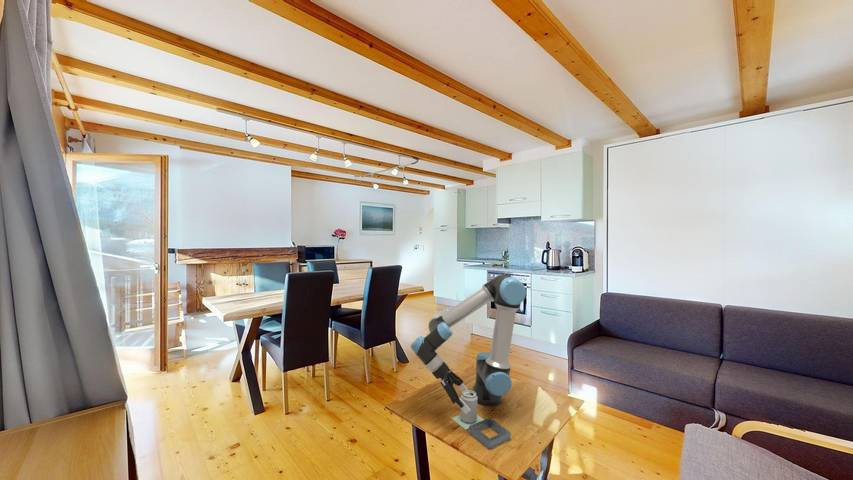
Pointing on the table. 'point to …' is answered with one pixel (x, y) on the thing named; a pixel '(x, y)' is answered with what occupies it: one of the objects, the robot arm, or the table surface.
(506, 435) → the holder
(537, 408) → the table surface
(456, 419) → the mat
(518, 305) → the robot arm
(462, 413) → the can
